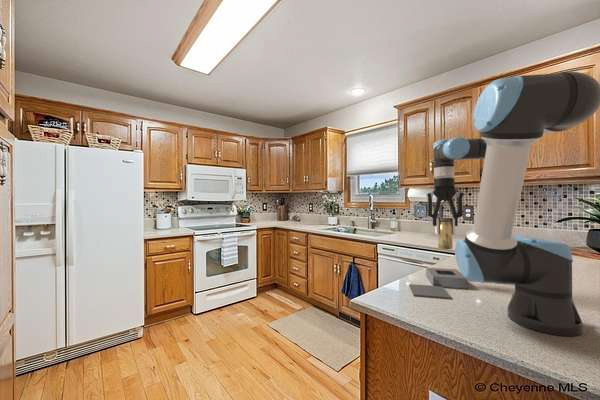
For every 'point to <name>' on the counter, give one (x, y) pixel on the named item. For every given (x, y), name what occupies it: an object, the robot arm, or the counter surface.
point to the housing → (446, 278)
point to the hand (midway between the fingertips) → (445, 233)
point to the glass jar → (445, 233)
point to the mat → (429, 291)
